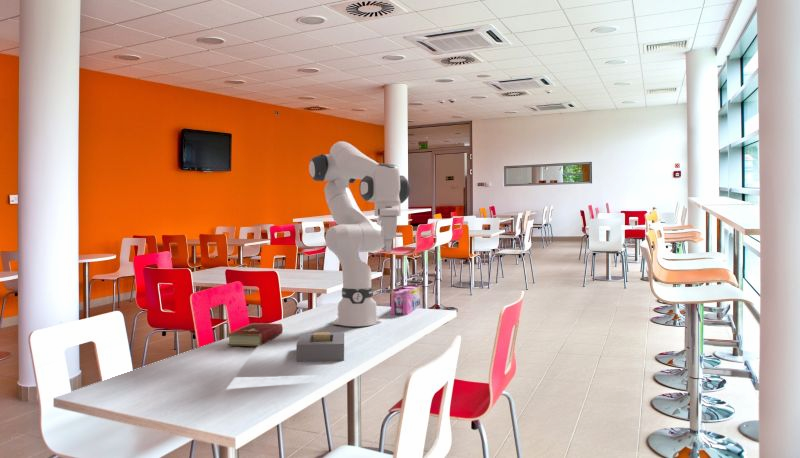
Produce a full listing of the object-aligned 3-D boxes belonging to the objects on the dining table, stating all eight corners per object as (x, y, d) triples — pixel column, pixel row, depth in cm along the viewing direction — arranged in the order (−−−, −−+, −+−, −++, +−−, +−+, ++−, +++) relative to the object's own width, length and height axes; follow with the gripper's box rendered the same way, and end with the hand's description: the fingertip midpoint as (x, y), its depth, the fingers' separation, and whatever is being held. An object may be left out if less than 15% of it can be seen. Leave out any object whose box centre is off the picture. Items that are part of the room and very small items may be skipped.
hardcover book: (282, 334, 218) (282, 323, 218) (261, 346, 197) (261, 334, 197) (252, 333, 220) (252, 322, 219) (227, 345, 199) (227, 333, 199)
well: (301, 348, 191) (301, 333, 191) (344, 347, 192) (344, 332, 192) (296, 361, 173) (296, 344, 173) (344, 360, 174) (343, 343, 174)
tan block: (314, 351, 185) (314, 332, 184) (330, 350, 185) (330, 332, 185) (313, 354, 181) (313, 334, 180) (329, 353, 181) (329, 334, 181)
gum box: (406, 321, 240) (406, 291, 240) (389, 321, 243) (389, 290, 243) (421, 313, 262) (420, 285, 262) (405, 312, 264) (405, 284, 264)
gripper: (376, 211, 209) (376, 250, 209) (380, 210, 189) (380, 253, 189) (394, 211, 210) (394, 250, 210) (399, 210, 189) (399, 253, 189)
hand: (387, 251), depth 199 cm, fingers open, 6 cm apart
